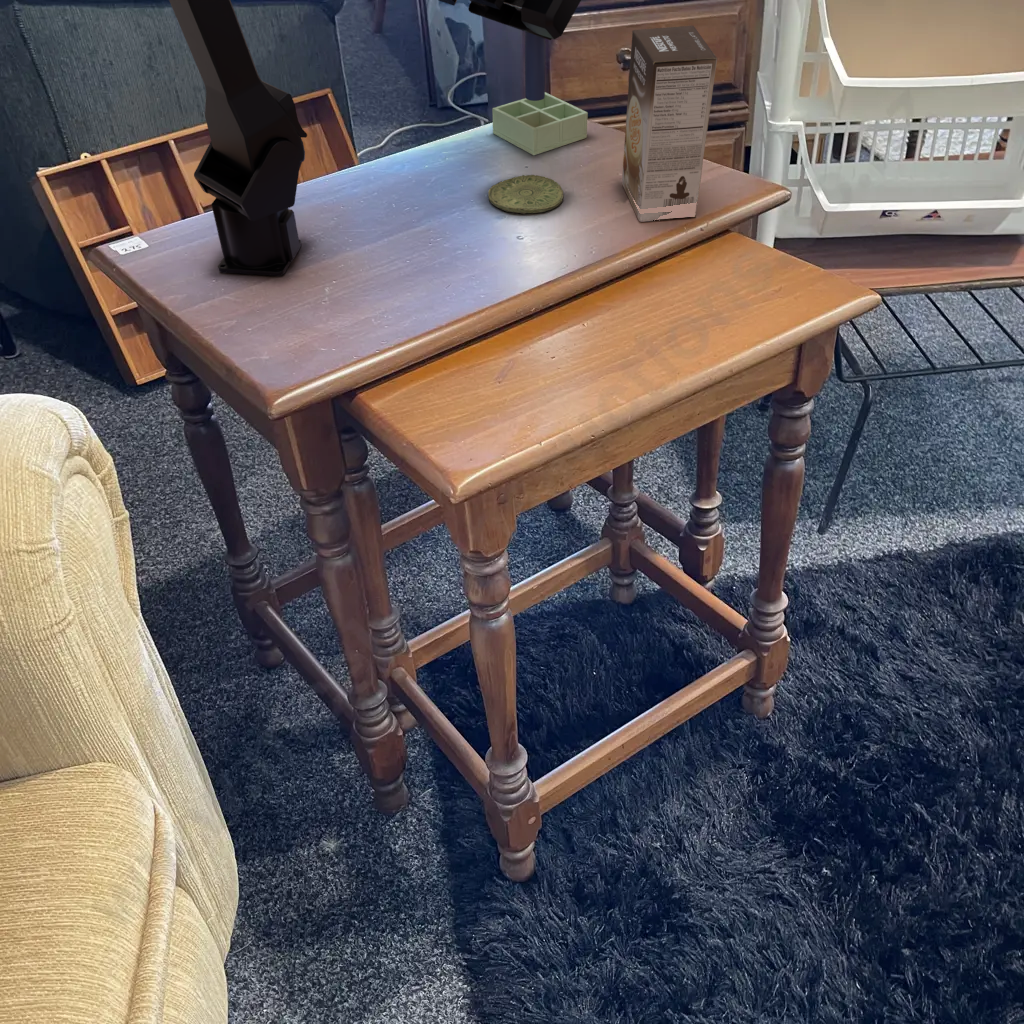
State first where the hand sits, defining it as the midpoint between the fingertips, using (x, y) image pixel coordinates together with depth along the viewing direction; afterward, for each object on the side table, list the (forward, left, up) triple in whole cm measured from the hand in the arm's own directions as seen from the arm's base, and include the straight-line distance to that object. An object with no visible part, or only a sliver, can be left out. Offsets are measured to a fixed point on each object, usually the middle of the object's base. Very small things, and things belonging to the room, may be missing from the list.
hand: (544, 32), depth 107 cm
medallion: (0, -15, -12) cm, 19 cm away
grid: (-1, +2, -12) cm, 12 cm away
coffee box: (+14, -14, -12) cm, 23 cm away
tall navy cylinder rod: (-1, -1, -7) cm, 7 cm away
